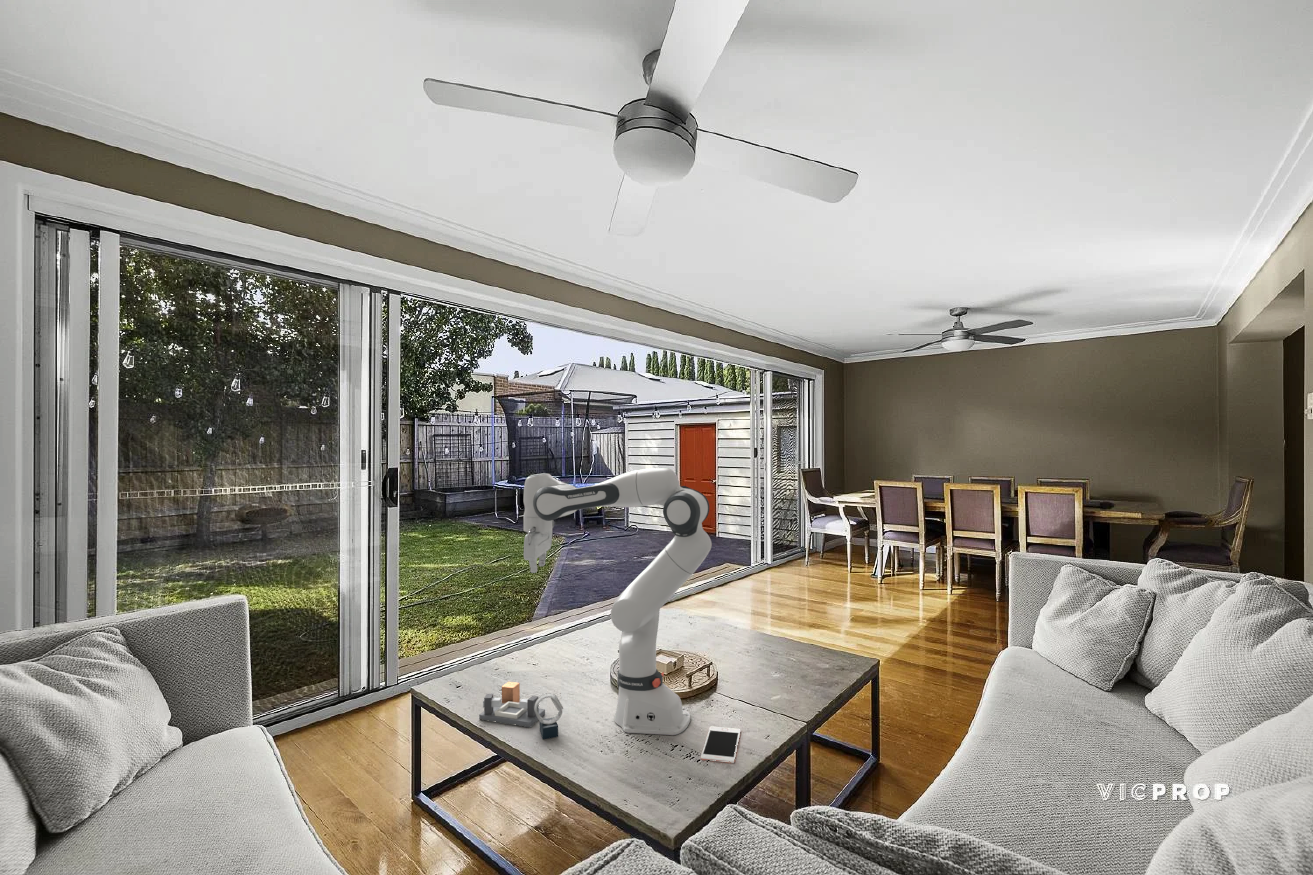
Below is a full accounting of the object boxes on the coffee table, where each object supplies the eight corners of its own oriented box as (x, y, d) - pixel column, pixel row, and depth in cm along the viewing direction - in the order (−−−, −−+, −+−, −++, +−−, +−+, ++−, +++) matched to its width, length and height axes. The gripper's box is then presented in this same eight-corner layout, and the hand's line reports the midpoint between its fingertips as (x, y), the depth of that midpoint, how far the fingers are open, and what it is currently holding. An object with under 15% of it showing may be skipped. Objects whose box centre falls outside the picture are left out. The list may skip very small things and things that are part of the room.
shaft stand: (545, 714, 185) (544, 692, 185) (529, 727, 177) (529, 705, 177) (496, 706, 190) (496, 686, 190) (479, 719, 182) (479, 697, 182)
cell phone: (741, 731, 174) (741, 728, 174) (734, 764, 156) (734, 761, 156) (710, 728, 176) (710, 725, 176) (700, 761, 158) (700, 757, 158)
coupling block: (519, 701, 194) (519, 682, 194) (513, 707, 190) (512, 687, 190) (508, 700, 195) (508, 681, 195) (501, 705, 192) (501, 686, 192)
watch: (565, 735, 172) (564, 696, 172) (536, 740, 169) (535, 700, 169) (561, 726, 177) (560, 688, 177) (533, 731, 174) (532, 692, 174)
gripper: (539, 530, 181) (539, 576, 181) (555, 520, 202) (555, 562, 202) (518, 529, 182) (518, 576, 182) (536, 520, 202) (536, 562, 202)
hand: (537, 569), depth 192 cm, fingers open, 8 cm apart
